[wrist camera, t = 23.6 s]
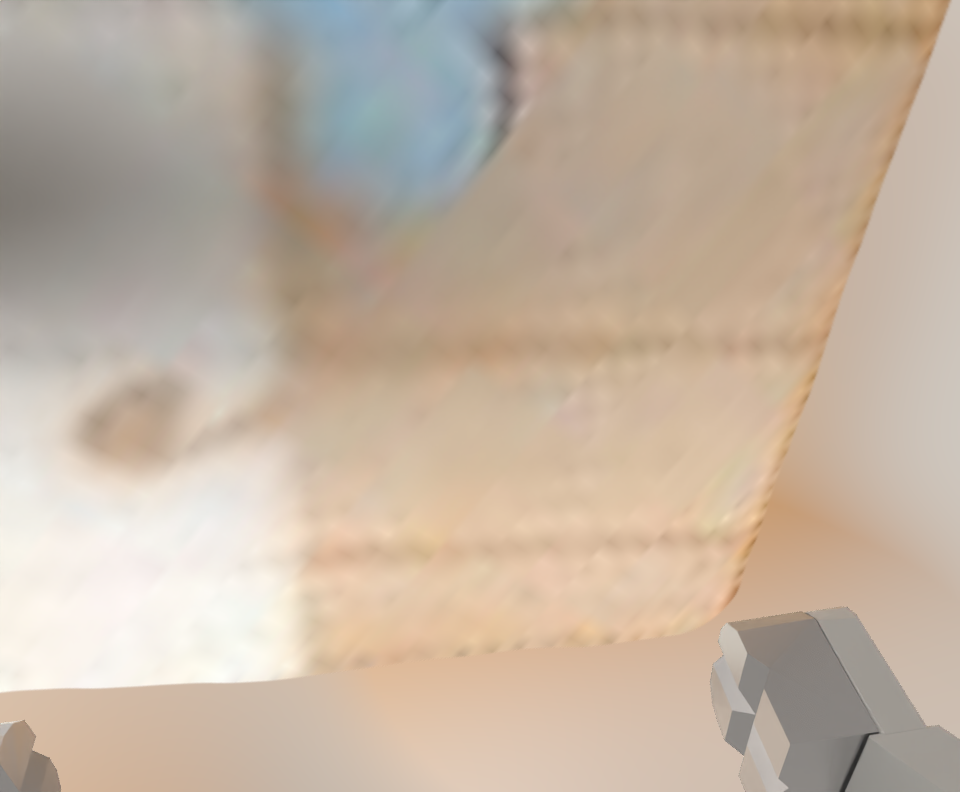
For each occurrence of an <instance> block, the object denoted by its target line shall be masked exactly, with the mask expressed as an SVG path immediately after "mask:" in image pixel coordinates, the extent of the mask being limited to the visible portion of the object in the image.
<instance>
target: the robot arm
mask: <svg viewBox="0 0 960 792" xmlns="http://www.w3.org/2000/svg"><path fill="white" fill-rule="evenodd" d="M718 643H719V645H720V647H721V649H722V652H723V654H724V655H723V656H722V657H721V658H720V659H718V660H717V661H716V662H715V663H714V664H713V668H712V673H711V679H710V685H711V695H712V704H713V707H714V711H715V715H716V719H717V722H718V724H719V727H720V730H721V732H722V735H723V737H724V740H725V741H726V742H727V743H729V744H730V745H731V746H732V747H734V748H735V749H736V750H738V751H739V752H740V753H741V754H742V755H744V758H743V762H742V765H741V769H740V773H739V777H740V780H741V782H742V784H743V787H744V790H745V792H960V739H958V738H957V737H955V736H954V735H953V734H951V733H950V732H948V731H947V730H945V729H943V728H942V727H941V726H939V725H936V726H926V725H925V723H924V722H923V720H922V718H921V717H920V715H919V714H918V712H917V710H916V709H915V707H914V706H913V704H912V702H911V701H910V699H909V698H908V696H907V695H906V693H905V691H904V690H903V688H902V686H901V685H900V683H899V682H898V680H897V678H896V677H895V675H894V674H893V672H892V671H891V669H890V667H889V666H888V664H887V663H886V661H885V659H884V658H883V656H882V655H881V653H880V651H879V650H878V648H877V647H876V645H875V643H874V642H873V640H872V639H871V637H870V635H869V634H868V632H867V631H866V629H865V628H864V626H863V624H862V623H861V621H860V620H859V618H858V616H857V615H856V614H855V613H854V612H853V611H852V610H850V609H849V608H848V607H836V608H829V609H823V610H817V611H810V612H794V613H788V614H781V615H775V616H768V617H762V618H756V619H749V620H743V621H737V622H730V623H726V624H725V625H724V626H723V627H722V628H721V632H720V636H719V640H718ZM35 738H36V736H35V734H34V733H33V732H32V730H31V729H30V727H29V726H28V725H27V723H26V722H25V720H22V721H15V722H7V723H0V792H61V786H60V782H59V778H58V774H57V770H56V768H55V766H54V765H53V763H52V762H51V760H50V758H49V757H46V756H44V755H42V754H39V753H37V752H35V751H32V748H33V745H34V741H35Z"/></svg>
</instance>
